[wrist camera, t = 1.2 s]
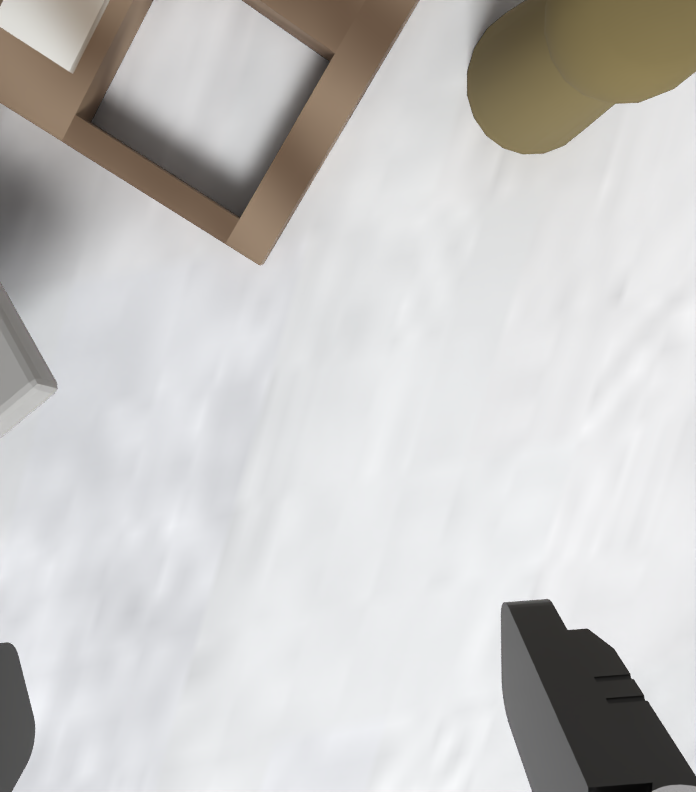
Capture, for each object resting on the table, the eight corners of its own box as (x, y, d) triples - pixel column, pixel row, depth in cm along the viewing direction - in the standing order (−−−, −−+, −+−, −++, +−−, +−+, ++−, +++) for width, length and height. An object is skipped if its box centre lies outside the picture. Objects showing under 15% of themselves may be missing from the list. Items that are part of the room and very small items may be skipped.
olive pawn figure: (610, 139, 29) (780, 81, 18) (477, 167, 29) (569, 126, 18) (596, -10, 27) (771, -168, 17) (456, 20, 27) (542, -120, 17)
